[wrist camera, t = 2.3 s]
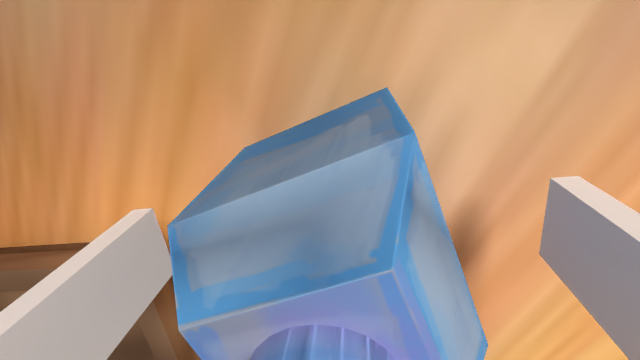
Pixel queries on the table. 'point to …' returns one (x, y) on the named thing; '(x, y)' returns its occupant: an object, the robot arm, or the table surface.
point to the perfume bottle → (324, 249)
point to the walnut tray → (144, 336)
